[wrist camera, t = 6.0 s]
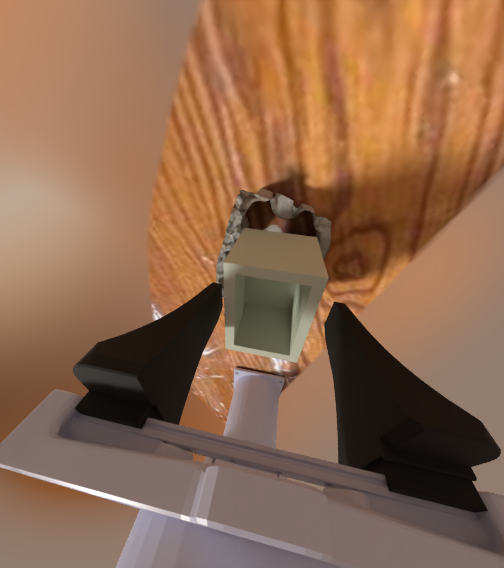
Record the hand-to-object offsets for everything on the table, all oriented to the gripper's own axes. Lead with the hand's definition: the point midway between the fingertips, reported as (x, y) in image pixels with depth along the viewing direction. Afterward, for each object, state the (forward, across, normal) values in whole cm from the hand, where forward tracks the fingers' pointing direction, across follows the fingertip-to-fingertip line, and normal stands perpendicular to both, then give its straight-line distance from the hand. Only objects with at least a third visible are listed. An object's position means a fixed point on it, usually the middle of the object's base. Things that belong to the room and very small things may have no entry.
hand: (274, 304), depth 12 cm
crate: (+3, 0, 0) cm, 3 cm away
